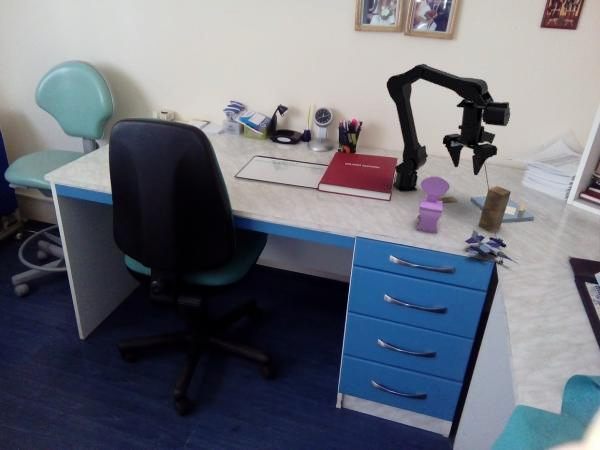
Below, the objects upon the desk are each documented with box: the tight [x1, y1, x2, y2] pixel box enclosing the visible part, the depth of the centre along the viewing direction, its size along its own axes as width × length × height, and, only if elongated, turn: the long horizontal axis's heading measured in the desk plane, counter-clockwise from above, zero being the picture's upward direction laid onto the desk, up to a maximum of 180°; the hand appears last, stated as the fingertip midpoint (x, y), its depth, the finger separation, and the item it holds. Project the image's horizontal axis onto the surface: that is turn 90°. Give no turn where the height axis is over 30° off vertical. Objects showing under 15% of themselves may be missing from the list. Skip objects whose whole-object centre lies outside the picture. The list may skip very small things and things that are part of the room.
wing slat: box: [437, 196, 459, 204], centre depth 159 cm, size 9×3×1 cm, turn 104°
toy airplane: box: [464, 229, 521, 265], centre depth 128 cm, size 13×14×4 cm
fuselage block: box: [477, 185, 512, 233], centre depth 141 cm, size 5×5×12 cm
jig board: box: [470, 195, 535, 224], centre depth 154 cm, size 13×16×4 cm
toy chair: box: [415, 175, 451, 234], centre depth 139 cm, size 8×9×15 cm
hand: (465, 170), depth 151 cm, fingers open, 9 cm apart
